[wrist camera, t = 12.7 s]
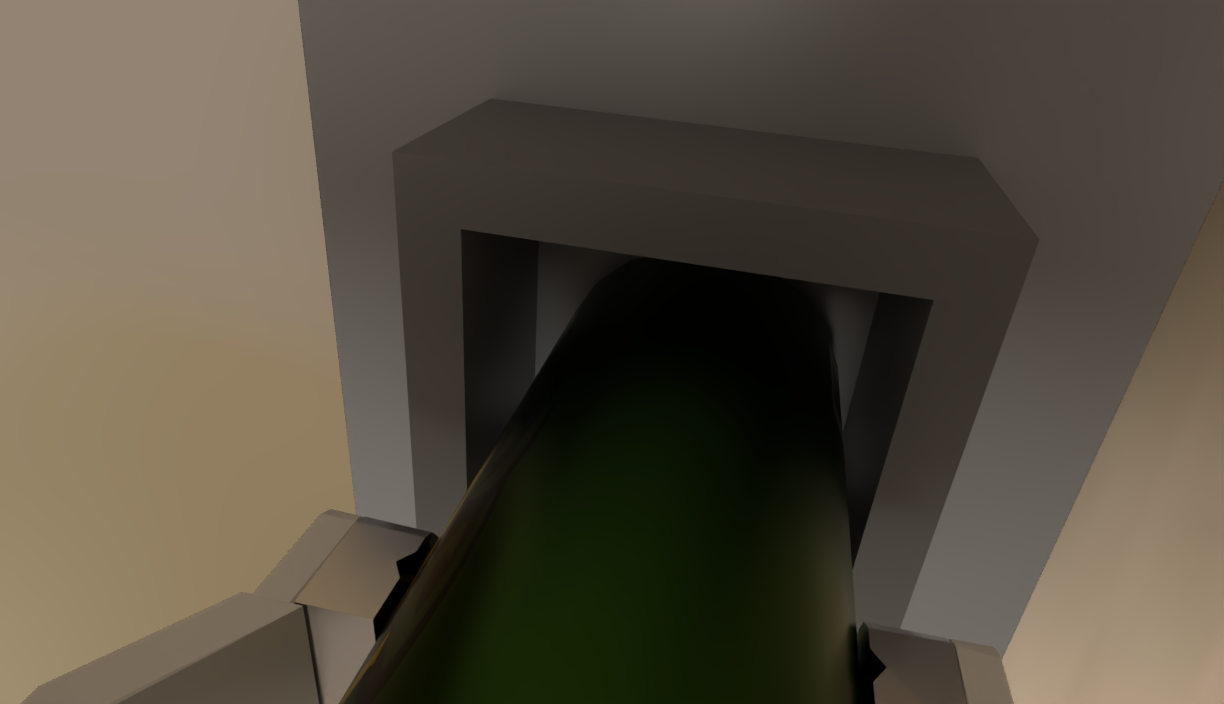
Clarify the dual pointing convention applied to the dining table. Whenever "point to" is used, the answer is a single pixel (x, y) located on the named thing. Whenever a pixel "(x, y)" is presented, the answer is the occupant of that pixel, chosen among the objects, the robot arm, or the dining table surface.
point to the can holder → (777, 234)
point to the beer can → (648, 516)
